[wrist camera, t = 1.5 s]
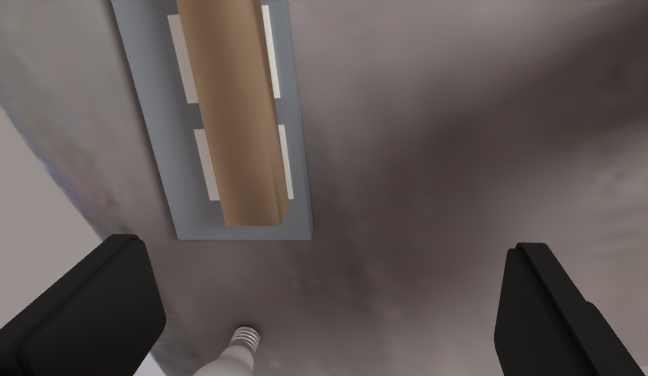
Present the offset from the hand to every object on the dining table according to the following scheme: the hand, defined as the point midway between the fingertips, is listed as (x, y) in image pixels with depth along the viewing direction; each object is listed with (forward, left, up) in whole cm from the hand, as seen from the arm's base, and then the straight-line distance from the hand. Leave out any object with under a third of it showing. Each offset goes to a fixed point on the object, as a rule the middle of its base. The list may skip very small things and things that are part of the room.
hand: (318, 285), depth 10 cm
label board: (+11, 0, -21) cm, 24 cm away
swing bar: (+8, -5, -18) cm, 20 cm away
